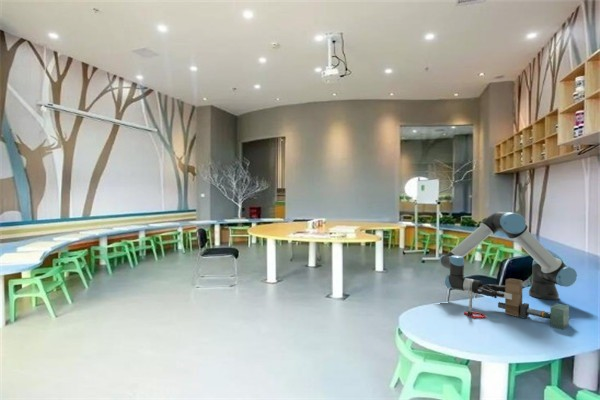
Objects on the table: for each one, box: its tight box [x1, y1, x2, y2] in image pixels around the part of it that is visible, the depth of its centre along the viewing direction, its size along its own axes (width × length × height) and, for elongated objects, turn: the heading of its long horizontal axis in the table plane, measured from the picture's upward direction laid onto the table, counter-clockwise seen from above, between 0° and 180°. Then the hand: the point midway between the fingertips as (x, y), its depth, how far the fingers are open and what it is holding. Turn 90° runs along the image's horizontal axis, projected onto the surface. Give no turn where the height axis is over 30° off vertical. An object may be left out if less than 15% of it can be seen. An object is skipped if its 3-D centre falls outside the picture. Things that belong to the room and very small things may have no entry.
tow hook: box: [463, 291, 487, 320], centre depth 177 cm, size 8×13×9 cm
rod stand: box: [497, 301, 570, 330], centre depth 173 cm, size 10×29×9 cm, turn 41°
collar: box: [519, 302, 530, 319], centre depth 175 cm, size 6×2×6 cm, turn 131°
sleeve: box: [504, 278, 524, 317], centre depth 179 cm, size 6×6×18 cm
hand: (516, 294), depth 177 cm, fingers open, 13 cm apart
